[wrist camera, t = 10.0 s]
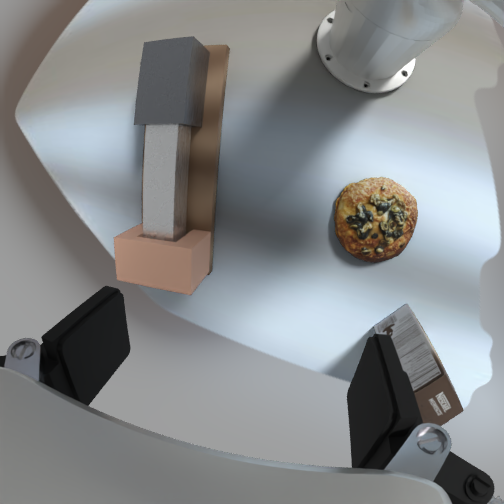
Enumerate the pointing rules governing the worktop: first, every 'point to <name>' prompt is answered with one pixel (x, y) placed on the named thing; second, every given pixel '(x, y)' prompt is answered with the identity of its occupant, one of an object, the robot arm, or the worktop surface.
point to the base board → (206, 149)
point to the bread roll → (375, 219)
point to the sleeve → (172, 82)
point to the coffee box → (421, 367)
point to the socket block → (163, 260)
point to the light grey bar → (165, 181)
